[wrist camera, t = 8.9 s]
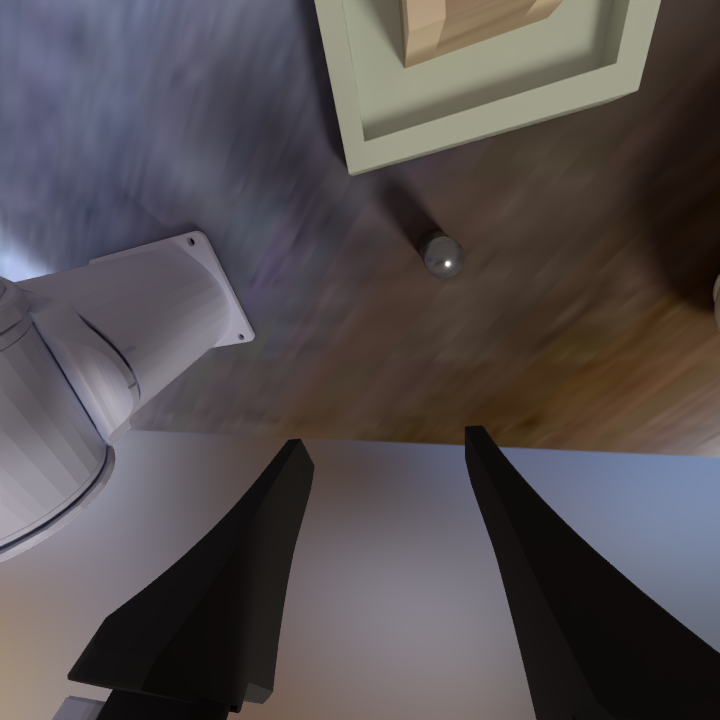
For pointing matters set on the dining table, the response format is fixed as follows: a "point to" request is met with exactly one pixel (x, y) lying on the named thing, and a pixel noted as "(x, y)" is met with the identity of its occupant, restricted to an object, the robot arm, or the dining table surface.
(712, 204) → the dining table surface
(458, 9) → the wooden frame with tab
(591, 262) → the dining table surface
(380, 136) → the sage tray
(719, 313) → the lidded jar
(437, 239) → the post
